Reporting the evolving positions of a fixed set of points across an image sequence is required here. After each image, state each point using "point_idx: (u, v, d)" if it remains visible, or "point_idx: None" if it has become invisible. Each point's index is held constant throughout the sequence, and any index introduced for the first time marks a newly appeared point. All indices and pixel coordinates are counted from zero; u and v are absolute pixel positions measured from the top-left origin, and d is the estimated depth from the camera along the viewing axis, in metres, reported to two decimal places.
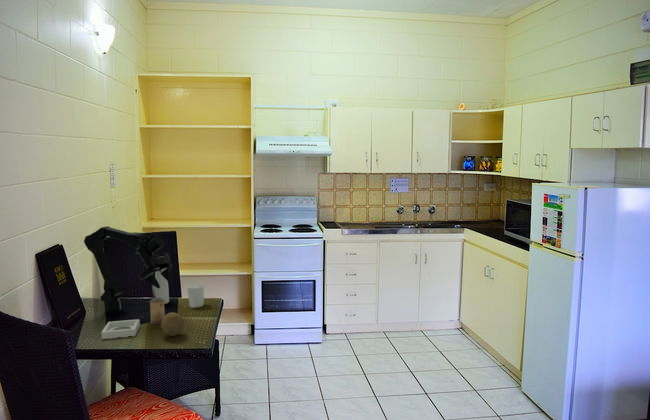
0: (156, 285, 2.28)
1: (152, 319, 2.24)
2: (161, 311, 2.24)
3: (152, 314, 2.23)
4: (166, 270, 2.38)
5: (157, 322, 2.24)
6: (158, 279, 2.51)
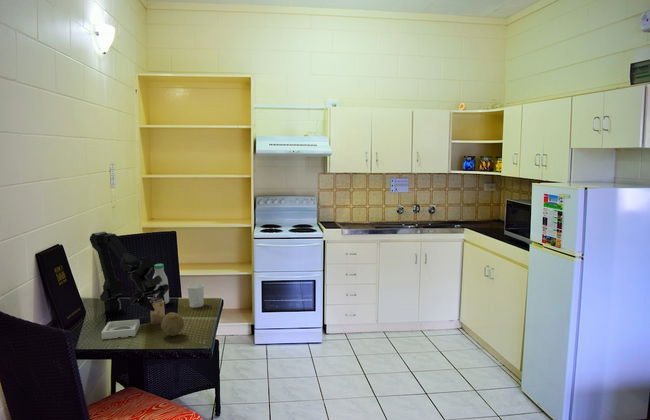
0: (150, 308, 2.22)
1: (152, 319, 2.24)
2: (161, 311, 2.24)
3: (152, 314, 2.23)
4: (159, 294, 2.29)
5: (157, 322, 2.24)
6: None
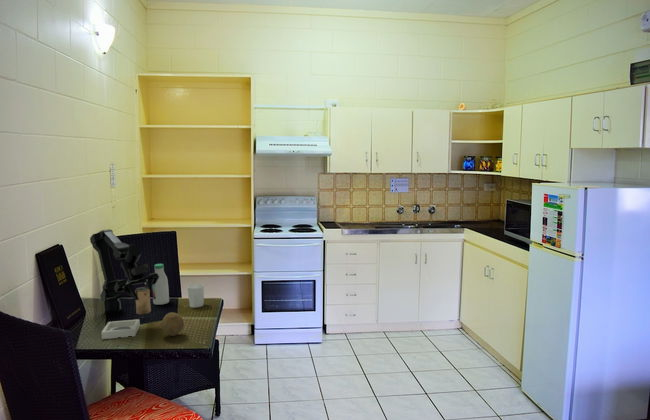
0: (134, 297, 2.17)
1: (136, 308, 2.18)
2: (145, 300, 2.17)
3: (136, 303, 2.18)
4: (147, 283, 2.23)
5: (141, 312, 2.17)
6: (158, 279, 2.51)
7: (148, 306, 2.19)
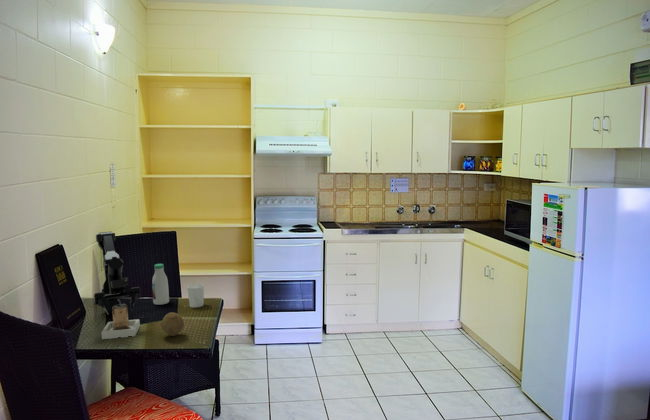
0: (106, 311, 2.11)
1: None
2: (120, 318, 2.12)
3: (113, 320, 2.13)
4: (131, 297, 2.18)
5: (117, 329, 2.12)
6: (158, 279, 2.51)
7: (124, 324, 2.13)
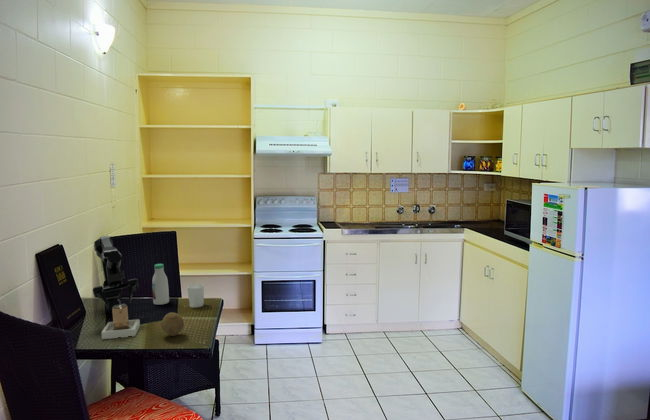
0: (105, 304, 2.21)
1: (113, 325, 2.13)
2: (120, 318, 2.12)
3: (113, 320, 2.13)
4: None
5: (117, 329, 2.12)
6: (158, 279, 2.51)
7: (124, 324, 2.13)
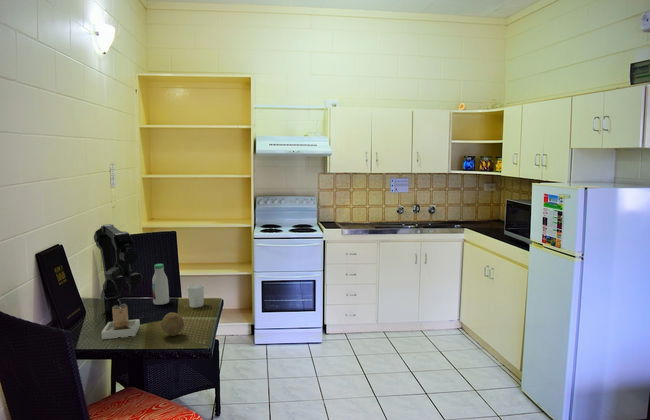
0: None
1: (113, 325, 2.13)
2: (120, 318, 2.12)
3: (113, 320, 2.13)
4: None
5: (117, 329, 2.12)
6: (158, 279, 2.51)
7: (124, 324, 2.13)
